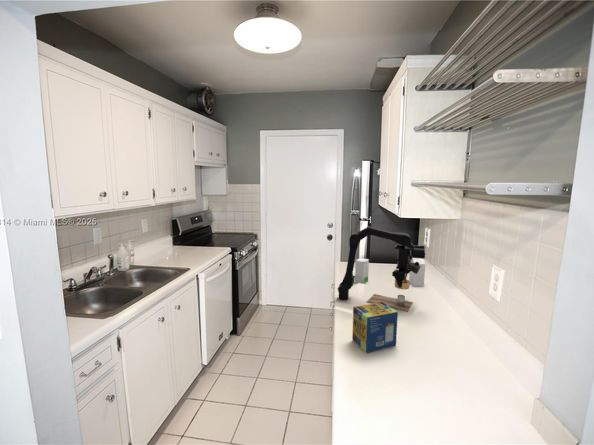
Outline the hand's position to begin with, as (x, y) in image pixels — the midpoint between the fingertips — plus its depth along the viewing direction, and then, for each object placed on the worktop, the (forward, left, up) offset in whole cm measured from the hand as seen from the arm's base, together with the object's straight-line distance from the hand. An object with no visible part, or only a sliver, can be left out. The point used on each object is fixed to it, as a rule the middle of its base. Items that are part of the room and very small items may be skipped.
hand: (401, 285), depth 159 cm
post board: (0, +6, -12) cm, 14 cm away
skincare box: (+26, +32, -13) cm, 43 cm away
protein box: (-42, +1, -13) cm, 44 cm away
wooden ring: (0, 0, -1) cm, 1 cm away
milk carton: (+41, 0, -13) cm, 43 cm away
